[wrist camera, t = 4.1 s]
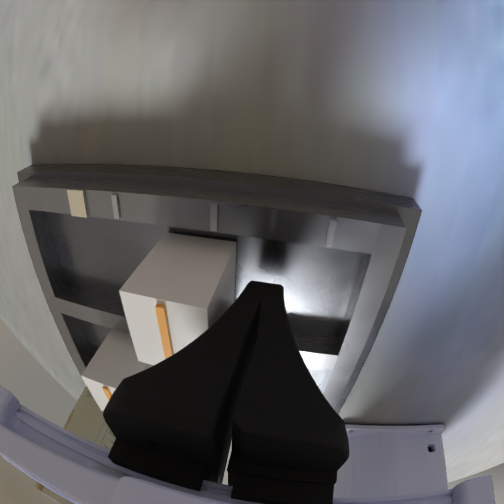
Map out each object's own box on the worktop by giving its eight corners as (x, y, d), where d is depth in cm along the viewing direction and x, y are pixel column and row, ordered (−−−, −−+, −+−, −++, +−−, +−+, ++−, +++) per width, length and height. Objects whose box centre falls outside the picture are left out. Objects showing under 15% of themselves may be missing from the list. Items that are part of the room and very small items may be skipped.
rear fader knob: (160, 336, 17) (129, 396, 13) (168, 374, 18) (145, 428, 15) (114, 325, 17) (79, 377, 13) (127, 363, 19) (100, 412, 15)
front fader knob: (236, 242, 13) (205, 311, 9) (234, 310, 14) (210, 382, 11) (166, 232, 13) (117, 293, 9) (173, 299, 15) (137, 364, 11)
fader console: (413, 198, 12) (432, 226, 10) (335, 405, 20) (334, 436, 17) (31, 164, 14) (0, 181, 12) (87, 352, 22) (72, 375, 20)
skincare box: (89, 375, 24) (28, 484, 14) (124, 380, 23) (62, 505, 12) (125, 416, 27) (80, 514, 17) (160, 421, 26) (116, 531, 15)
